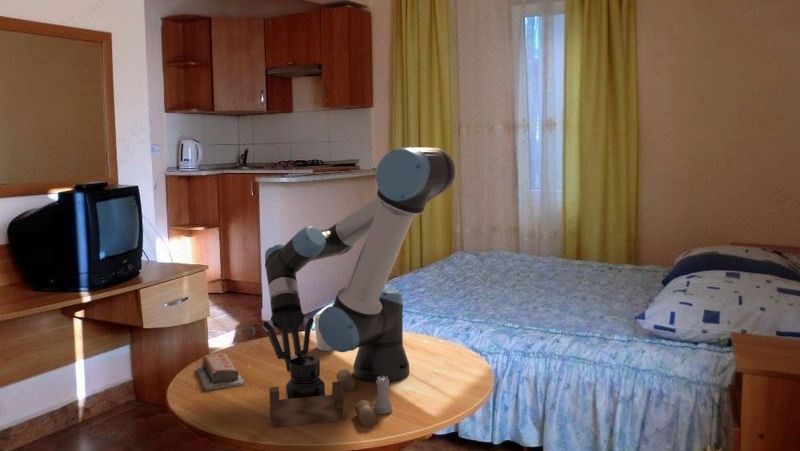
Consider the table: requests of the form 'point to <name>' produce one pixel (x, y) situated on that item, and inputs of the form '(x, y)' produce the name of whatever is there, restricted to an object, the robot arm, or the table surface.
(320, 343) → the white cup
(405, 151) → the robot arm
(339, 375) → the roller
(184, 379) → the table surface
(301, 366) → the ink bottle
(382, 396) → the rook chess piece
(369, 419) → the roller
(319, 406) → the rail
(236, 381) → the packaged product
